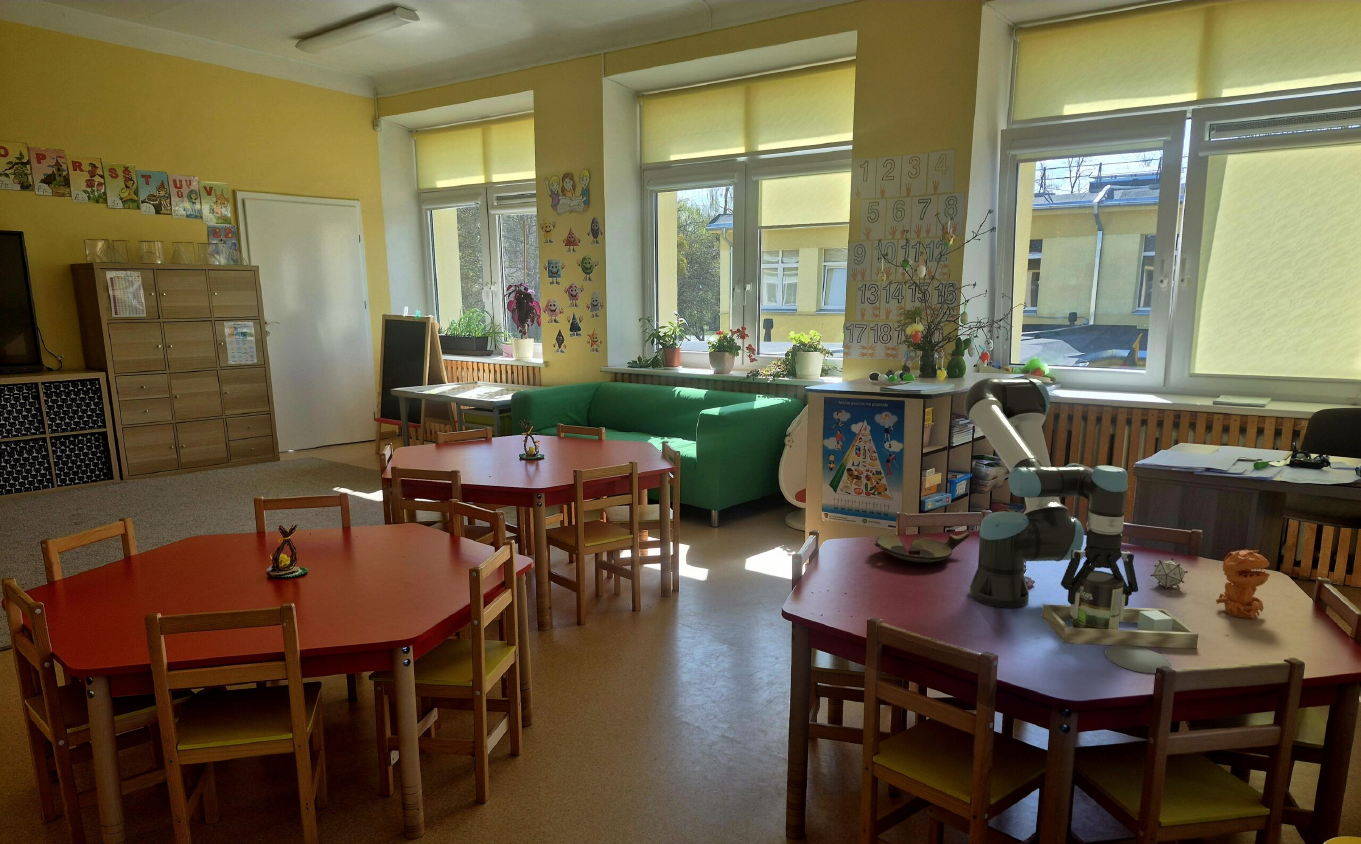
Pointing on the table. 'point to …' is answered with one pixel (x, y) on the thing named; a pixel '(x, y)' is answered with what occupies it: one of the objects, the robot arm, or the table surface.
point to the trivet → (1136, 658)
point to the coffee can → (1099, 601)
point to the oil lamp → (920, 547)
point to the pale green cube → (1154, 621)
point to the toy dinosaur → (1243, 583)
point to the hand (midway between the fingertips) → (1096, 616)
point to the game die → (1169, 573)
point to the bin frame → (1176, 638)
